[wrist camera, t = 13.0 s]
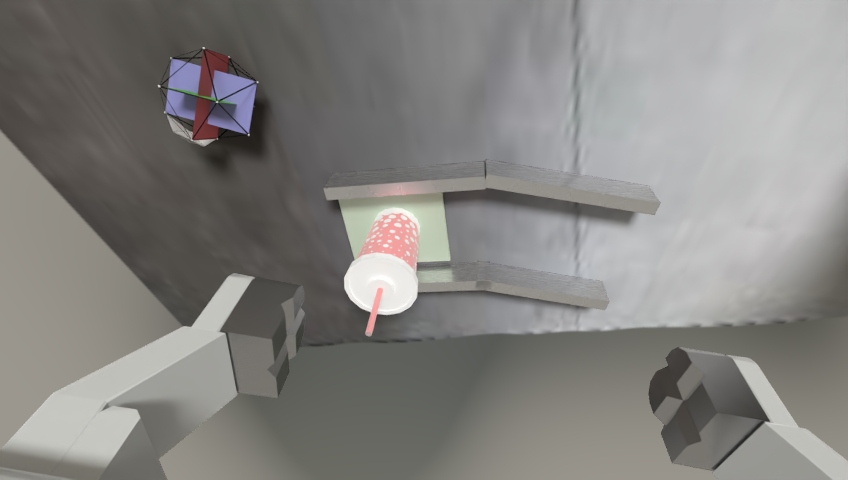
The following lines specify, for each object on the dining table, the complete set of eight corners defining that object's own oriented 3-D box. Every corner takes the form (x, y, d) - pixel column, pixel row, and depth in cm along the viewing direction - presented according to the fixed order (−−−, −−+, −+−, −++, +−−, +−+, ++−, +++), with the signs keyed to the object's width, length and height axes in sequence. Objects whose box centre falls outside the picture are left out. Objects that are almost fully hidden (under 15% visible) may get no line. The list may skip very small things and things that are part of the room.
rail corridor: (648, 185, 38) (660, 202, 36) (586, 313, 48) (592, 333, 45) (333, 134, 39) (323, 147, 36) (331, 271, 48) (323, 289, 45)
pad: (441, 182, 40) (441, 184, 40) (450, 258, 45) (450, 260, 45) (337, 189, 42) (336, 191, 41) (357, 262, 47) (356, 264, 46)
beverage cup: (403, 262, 46) (378, 372, 34) (354, 229, 44) (311, 334, 32) (440, 225, 42) (427, 333, 31) (389, 188, 41) (356, 288, 29)
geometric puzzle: (167, 10, 32) (120, 101, 30) (260, 36, 32) (221, 128, 30) (202, 73, 39) (166, 151, 36) (279, 94, 39) (248, 172, 37)
